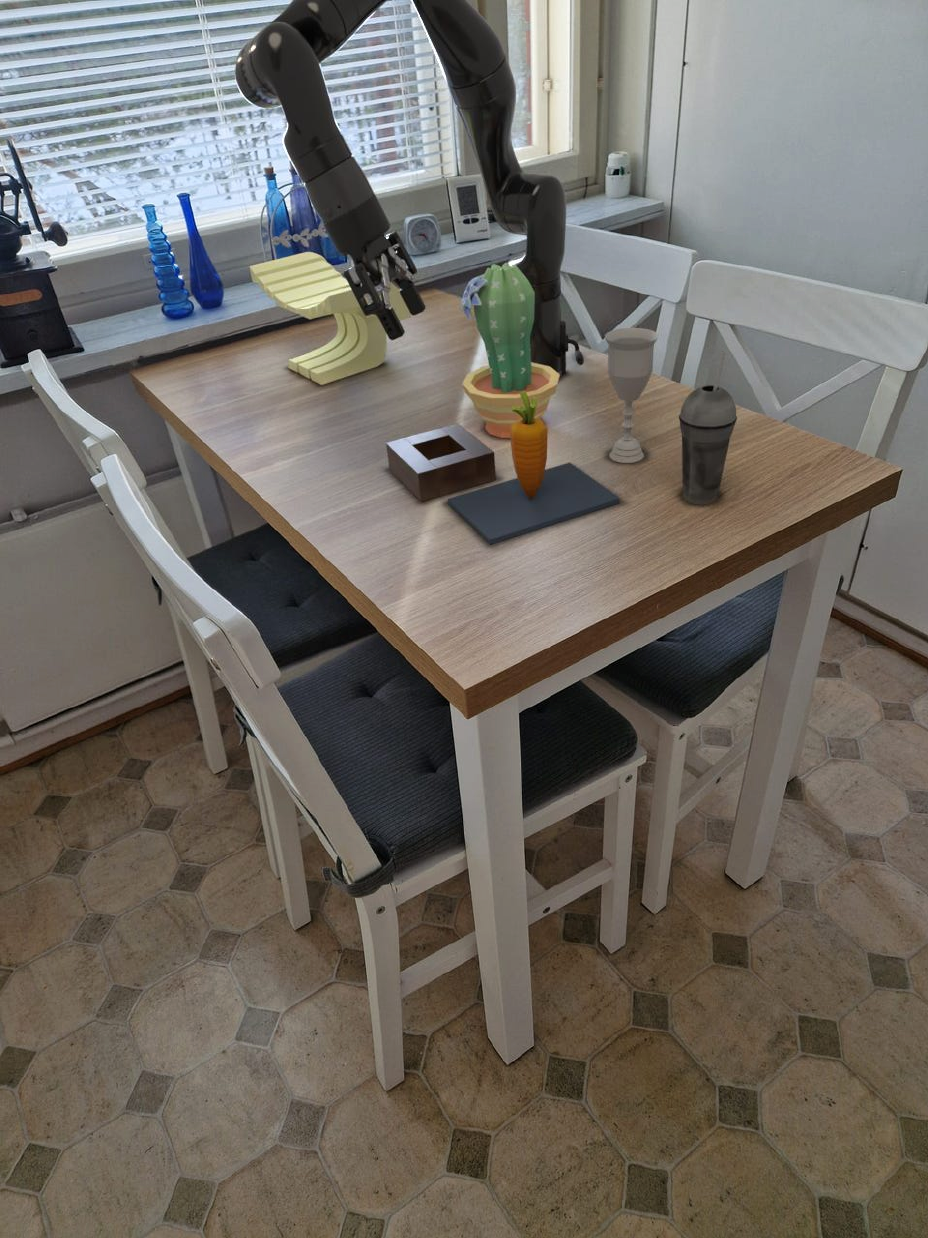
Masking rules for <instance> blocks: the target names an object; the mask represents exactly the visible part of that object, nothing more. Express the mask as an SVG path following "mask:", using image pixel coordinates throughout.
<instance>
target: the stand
mask: <svg viewBox="0 0 928 1238" xmlns="http://www.w3.org/2000/svg"><path fill="white" fill-rule="evenodd" d="M385 447H386V455H387V461H388V469H389V471H390V472H391V473H392V475H394V476H395V477H396V479H398V480H399V482H401V483H402V484H403V485H404V487H406V489H408V491H409V492H410V493H411V494H412V495H413V496H414V497H415V498H416V499H417V500H418V501H419V502H420V503H424V502H426V501H430V500H434V499H438V498H440V497H444V496H447V495H451V494H453V493H458V492H460V491H464V490H468V489H470V488H473V487H478V486H480V485H483V484H488V483H491V482H493V481H496V480H497V475H496V460H495V451H493V450H492V449H491V448H490V447H488V446H487V445H486V444H485V443H483V442H482V441H481V440H480V439H478V438H477V437H476V436H475V435H473V434H472V433H471V432H469V431H468V430H467V429H466V428H464V427H463V426H462V425H461V424H460V423H455V424H451V425H447V426H444V427H440V428H436V429H431V430H429V431H424V432H421V433H417V434H414V435H409V436H407V437H403V438H398V439H395V440H391V441H387V442H385Z"/></svg>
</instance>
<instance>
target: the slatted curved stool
mask: <svg viewBox="0 0 928 1238" xmlns="http://www.w3.org/2000/svg"><path fill="white" fill-rule="evenodd" d="M249 271H250V275H251V280H252V282H253V283H255V284H258V286H259V290H261V291H263V292H266V294H267V298H269V299H272V300H273V299H274V303H275V306H277V307H280V308H282V309H285V310H287V311H290V312H292V313H294V314H296V315H299V316H300V317H303V318H305V319H308V320H313V319H316V318H321V317H325V316H329V315H333V316H334V318H335V320H336V321H335V322H336V324H337V333H336V335H335V336H334V337H333V339H332V340H330V341H329V342H328V343H327V344H325V345H323V346H321V347H319V348H317V349H315V350H312V351H310V352H308V353H304V354H302V355H299V356H296V357H292V358H290V359H288V369H290V370H292V371H293V372H296V373H299V375H302V376H303V377H305V378H307V379H311V381H312V382H315V383H316V384H319V385H320V386H323V385H326V384H329V383H331V382H335V381H339V380H341V379H344V378H347V377H350V376H353V375H356V374H359V373H362V372H365V371H368V370H371V369H374V368H377V367H379V366H381V364H383V362H384V360H385V358H386V354H387V348H388V347H387V346H388V343H387V334H386V332H385V330H384V328H383V326H382V324H381V322H380V321H379V319H378V317H377V316H376V315H373V314H372V315H368V316H365V315H364V313H363V311H362V309H361V307H360V305H359V303H358V301H357V299H356V297H355V295H354V293H353V291H352V289H351V288H350V286H349V284H348V282H347V280H346V278H345V277H344V276H343V275H342V273H341V272H339V271H337V270H336V269H335V267H334V265H332V264H330V263H329V262H328V261H327V260H326V259H325V257H323V256H322V255H320V254H318V253H316V252H312V251H305V252H302V253H296V254H293V255H289V256H285V257H281V258H277V259H274V260H273V259H272V260H269V261H265V262H261V263H257V264H253V265H249ZM390 286H391V289H390V291H389V299H390V304H391V307H392V308H393V309H394V311H395V313H396V315H397V317H398V319H399V321H400V322H401V321H403V320H407V319H410V318H412V315H411V314H410V312H409V310H408V308H407V306H406V304H405V302H404V300H403V298H402V296H401V294H400V292H399V291H400V290H401V289H398V288H397V287H396V286H395V285H394V284H393V283H391V282H390ZM379 297H380V299H381V295H380V296H379ZM364 298H365V300H366V302H367V304H369V300H368V297H365V296H364ZM381 301H382V299H381Z"/></svg>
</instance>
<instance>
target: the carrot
mask: <svg viewBox="0 0 928 1238" xmlns="http://www.w3.org/2000/svg"><path fill="white" fill-rule="evenodd" d="M520 395H521V398H522V400H523V403H524V406H525V409H526V410H525V409H524V407H523V406H519V407H512V408H511V410H512V411H514V412H517V413H518V414H519V415H520V416H521V417H522V419H519V420H518V421H516V422H515V423H514V424H513V425H512V426H511V428H510V438H509V439H510V446H511V447H510V448H511V458H512V462H513V467H514V471H515V474H516V478H518V480H519V482H520V485H521V487H522V489H523V491H524V492H525V494H526V496H527V497H528V498H530V499H532V498H533V497H534V496H535V495H536V493H537V491H538V489H539V487H540V485H541V482H542V480H543V477H544V472H545V470H546V468H547V467H546V466H547V460H548V428H547V426H546V424H545V423H544V421H543V420H542V419H536V418H534V416H535V412H536V408H537V399H536V398H535V397H533V398H532V404H531V405H530V401H529V398H528V396H527V393H526V392H525V391H522V392H521V393H520Z"/></svg>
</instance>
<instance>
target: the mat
mask: <svg viewBox="0 0 928 1238" xmlns="http://www.w3.org/2000/svg"><path fill="white" fill-rule="evenodd" d="M620 498H621V497H619V496H618V495H616V494H615V493H613V492H612V491H611V490H609V489H607V488H606V487H605V486H604V485H602V484H601V483H599V482H598V481H596V480H595V479H594V478H592V477H591V476H589V475H588V474H586V473H585V472H584V471H582V470H581V469H579V468H578V467H577V466H576V465H574V464H573V463H571V462H567V463H564V464H560V465H556V466H554V467H550V468H545V472H544V477H543V480H542V482H541V485H540V487H539V489H538V491H537V493H536V495H535V496H534V497H533V498H532V499H530V498H528V497H527V496H526V494H525V492H524V491H523V489H522V487H521V485H520V482H519V480H518V478H517V477H516V478H513V479H510V480H506V481H503V482H500V483H496V484H493V485H490V486H486V487H483V488H479V489H476V490H472V491H469V492H466V493H463V494H459V495H456V496H453V497H449V498H447V505H448V506H450V507H451V509H453V510H454V512H456V514H458V515H459V517H461V518H462V519H463V520H464V521H465V522H466V523H467V524H468V525H469V526H470V527H471V528H472V529H473V530H474V531H475V532H476V533H478V535H480V537H482V539H484V540H485V541H486V542H487V543H488V544H489V545H494V544H496V543H497V544H498V543H500V542H503V541H506V540H509V539H512V538H515V537H518V536H522V535H524V534H528V533H531V532H534V531H537V530H540V529H543V528H546V527H549V526H552V525H556V524H558V523H563V522H564V521H568V520H571V519H574V518H577V517H581V516H583V515H587V514H589V513H592V512H596V511H599V510H602V509H604V508H609V507H612V506H614V505H617V504H620Z"/></svg>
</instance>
